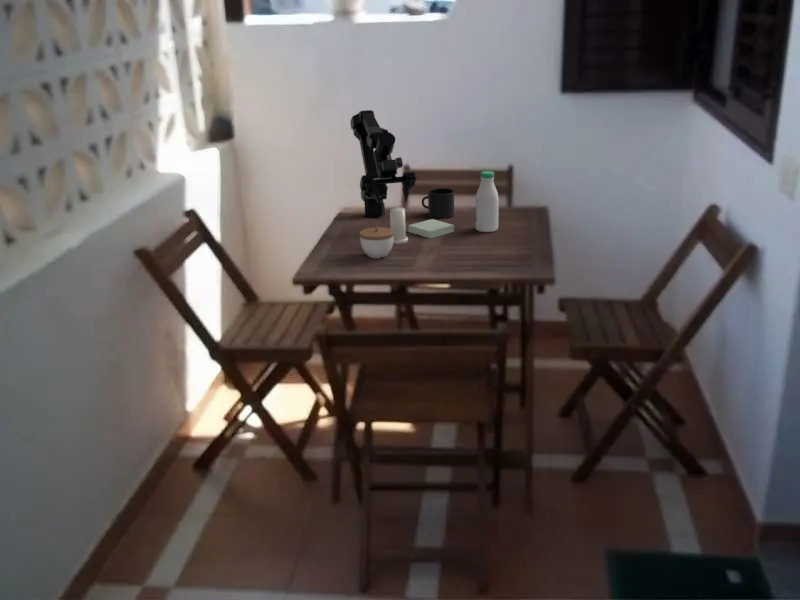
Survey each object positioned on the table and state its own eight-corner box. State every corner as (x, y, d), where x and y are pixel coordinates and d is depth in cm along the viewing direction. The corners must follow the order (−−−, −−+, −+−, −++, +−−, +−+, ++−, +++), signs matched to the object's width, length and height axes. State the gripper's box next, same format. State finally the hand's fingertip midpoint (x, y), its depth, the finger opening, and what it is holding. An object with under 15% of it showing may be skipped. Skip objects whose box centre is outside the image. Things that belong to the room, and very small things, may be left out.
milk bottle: (502, 229, 299) (503, 172, 292) (485, 233, 295) (485, 175, 288) (488, 225, 305) (488, 168, 298) (471, 229, 301) (471, 171, 294)
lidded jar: (355, 253, 278) (354, 225, 275) (386, 248, 282) (385, 220, 279) (367, 262, 269) (366, 233, 266) (399, 257, 273) (398, 228, 270)
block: (408, 232, 299) (408, 225, 299) (432, 225, 306) (432, 219, 305) (430, 238, 292) (430, 231, 291) (453, 231, 298) (453, 225, 297)
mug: (424, 211, 325) (423, 187, 321) (456, 212, 322) (456, 188, 319) (419, 218, 316) (418, 193, 313) (452, 219, 313) (451, 194, 310)
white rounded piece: (385, 243, 288) (384, 210, 284) (393, 238, 293) (392, 206, 289) (403, 245, 285) (402, 212, 281) (411, 239, 291) (410, 207, 287)
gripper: (360, 151, 287) (368, 191, 281) (414, 147, 291) (424, 186, 285) (356, 170, 297) (364, 209, 291) (409, 166, 301) (418, 204, 295)
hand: (393, 202), depth 290 cm, fingers open, 9 cm apart
